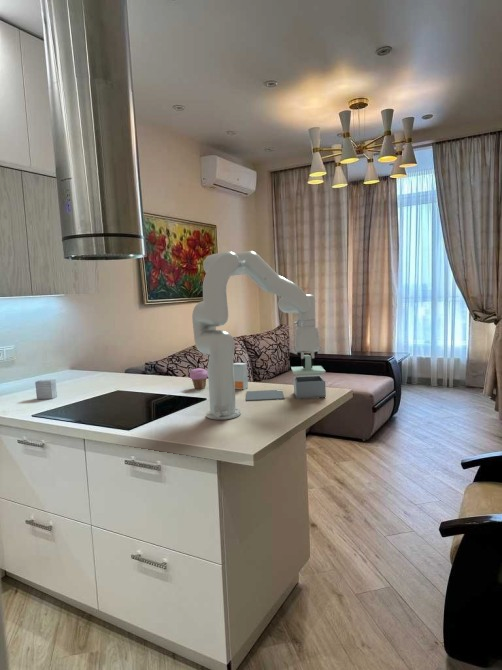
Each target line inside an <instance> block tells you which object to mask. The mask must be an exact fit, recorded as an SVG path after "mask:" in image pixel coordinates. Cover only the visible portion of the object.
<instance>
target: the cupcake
mask: <svg viewBox="0 0 502 670" xmlns="http://www.w3.org/2000/svg"><path fill="white" fill-rule="evenodd" d="M189 378H190V379H191V381H192V385H193V388H194V389H195V390H203V389H205V388H206V386H207V380H208V370H206V369H205V368H200V367H197V368H194V369H191V371H190V372H189Z"/></svg>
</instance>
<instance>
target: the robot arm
mask: <svg viewBox="0 0 502 670" xmlns="http://www.w3.org/2000/svg"><path fill="white" fill-rule="evenodd" d="M203 260H204V261H203V264H202V267H203V268H202V269H203V270H204V273H205V276H204V278H203V280H202V281H203V283H202V301H200V302H197V304H195V306H194V307H193V310H192V316H191V317H192V319H191V320H192V329H193V337H194V344H195V347H196V349H197V351H198V352H200V353H201V354H203V355H206V356H207V355H208V356H209V357H208V362H207V373H208V377H207V380H208V392H209V395H208V396H209V397H208V398H209V410H208V411H207V412H206V413H205V414H206V418H207V419H211V420H217V421H218V420H223V421H224V420H230V419H235V418H237V417H239V416H240V415H241V410H240V409H238V408H237V406H236V389H235V384H234V367H233V364H234V355H235V348H236V346H235V345H236V344H235V339H234V337H233V335H232V334H231V333H230V332H228V331H226V330H222V329H221V330H220V329H217V327H222V326H225V325H226V324H227V322H228V321H229V320H228V319H229V308H228V296H227V286H228V285H227V284H228V282H229V279H230V278H231V277H233V276H240V275H242V276H243V275H246V276H247V277H249V279H251V280H252V282H253V283H255V284H256V286H258V287H259V288H260V289H261V290H262V291H264V292H266V293H269V294H273V295H275V296H279V299H278V302H277V305H278V309H279V310H280V311H281V312H282V313H285V314H296V321H293V325H294V326H297V327H296V328H295V332H294V333H295V334H294V346H293V349H292V354H294V355H297V356H298V357H299V358H300V359H301V361H300V362H301V366H300V367H303V368H305V359H304V355H305V353H306V352H310V356H311V368H312V366H315V360H314V359H315V357H316V356H317V355H318V354H320V353H322V352H323V349H322V347H321V345H320V334H319V333H320V332H319V328H318V327H317V325H316V298H315V295H313V294H306V292H305V291H304V290H303V289H302V288H301V287H300V286H298V284H296V283H294V282H293V281H291V280H289V279H287V278H285V277H284V276H281V275H280V274H278V273H277V272H276V271H275V270H274V269H273V268H272V267H271V266H270V265H269V264H268V263H267V261H265V259H263V258H262V257H261V255H259V254H258V253H256V252H255V251H253V250H249V251H242V252H237V253H235V252H233V251H222V252H217V253H213V254H209V255H208V256H207V257H205V259H203Z"/></svg>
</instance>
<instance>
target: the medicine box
mask: <svg viewBox="0 0 502 670" xmlns="http://www.w3.org/2000/svg"><path fill="white" fill-rule="evenodd" d="M34 385H35V393H36V400H53V399H55V398H58V391H57V381H56V379H53V378H52V379H39V380H37V381H35V383H34Z"/></svg>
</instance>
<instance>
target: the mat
mask: <svg viewBox="0 0 502 670" xmlns="http://www.w3.org/2000/svg"><path fill="white" fill-rule="evenodd" d="M277 390H278V389H267V390H247V391H246V393H245V394H246V395H245V402H254V401H255V402H256V401H274V400H275V401H276V399H279V400H285V395H284V392H283V390H282V391H277Z"/></svg>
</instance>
